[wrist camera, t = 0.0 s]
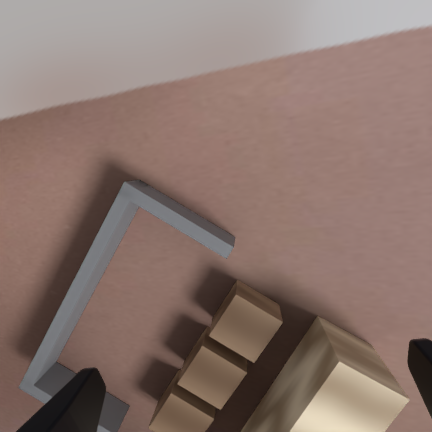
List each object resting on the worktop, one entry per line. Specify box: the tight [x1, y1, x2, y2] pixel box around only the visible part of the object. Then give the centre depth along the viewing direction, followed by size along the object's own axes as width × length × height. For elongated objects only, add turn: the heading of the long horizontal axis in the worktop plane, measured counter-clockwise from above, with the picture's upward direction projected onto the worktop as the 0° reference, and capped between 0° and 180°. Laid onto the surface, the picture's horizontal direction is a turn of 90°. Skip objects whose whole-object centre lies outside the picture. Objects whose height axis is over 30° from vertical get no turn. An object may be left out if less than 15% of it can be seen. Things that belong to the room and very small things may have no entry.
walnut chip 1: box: [149, 369, 216, 432], centre depth 25 cm, size 4×4×3 cm
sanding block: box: [241, 316, 410, 432], centre depth 23 cm, size 16×5×6 cm, turn 152°
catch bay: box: [19, 180, 235, 432], centre depth 24 cm, size 20×9×3 cm, turn 150°
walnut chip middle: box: [177, 326, 247, 410], centre depth 24 cm, size 4×4×3 cm
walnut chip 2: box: [209, 280, 283, 363], centre depth 23 cm, size 4×4×3 cm
